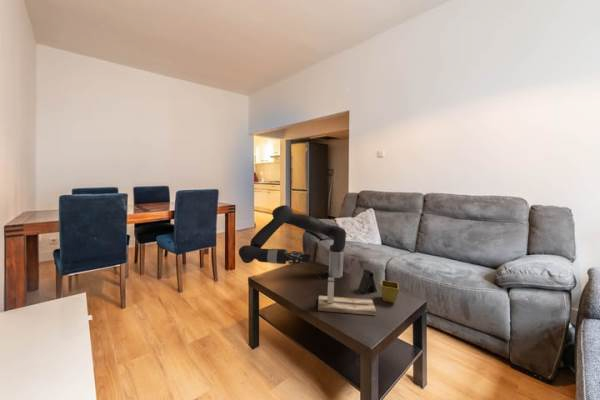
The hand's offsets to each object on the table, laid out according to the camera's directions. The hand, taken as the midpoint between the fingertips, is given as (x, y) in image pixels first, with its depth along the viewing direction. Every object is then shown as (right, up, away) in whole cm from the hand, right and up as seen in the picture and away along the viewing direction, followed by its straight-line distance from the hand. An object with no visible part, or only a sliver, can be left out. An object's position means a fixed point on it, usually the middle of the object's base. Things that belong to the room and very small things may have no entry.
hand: (309, 258), depth 132 cm
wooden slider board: (+18, -25, -1) cm, 31 cm away
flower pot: (+43, -25, +8) cm, 51 cm away
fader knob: (+11, -22, 0) cm, 24 cm away
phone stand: (+35, -24, +19) cm, 46 cm away
